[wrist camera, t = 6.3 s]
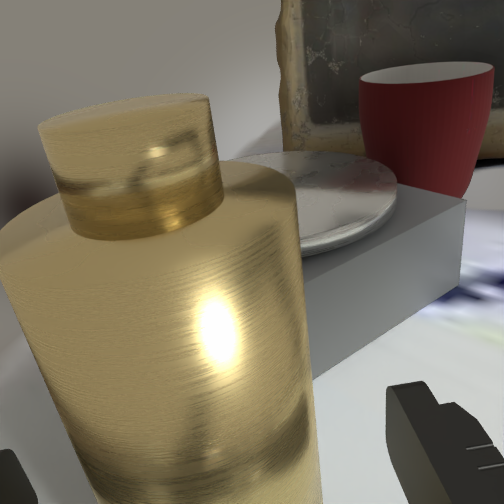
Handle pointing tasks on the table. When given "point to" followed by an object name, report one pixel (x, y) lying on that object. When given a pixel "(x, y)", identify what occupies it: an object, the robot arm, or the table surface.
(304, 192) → the scale platter
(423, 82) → the mug
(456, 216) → the scale housing
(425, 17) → the tablet
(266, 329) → the calibration weight
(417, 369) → the table surface
